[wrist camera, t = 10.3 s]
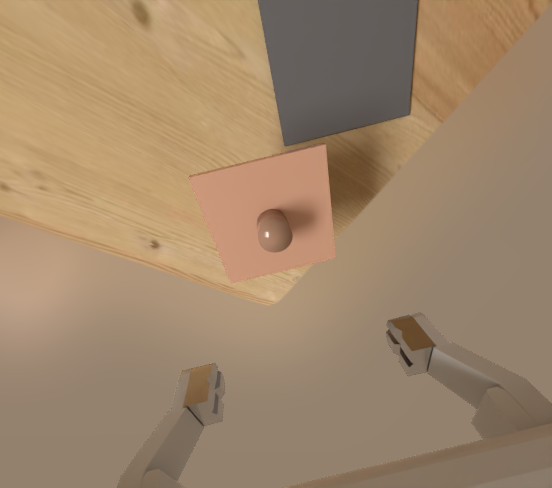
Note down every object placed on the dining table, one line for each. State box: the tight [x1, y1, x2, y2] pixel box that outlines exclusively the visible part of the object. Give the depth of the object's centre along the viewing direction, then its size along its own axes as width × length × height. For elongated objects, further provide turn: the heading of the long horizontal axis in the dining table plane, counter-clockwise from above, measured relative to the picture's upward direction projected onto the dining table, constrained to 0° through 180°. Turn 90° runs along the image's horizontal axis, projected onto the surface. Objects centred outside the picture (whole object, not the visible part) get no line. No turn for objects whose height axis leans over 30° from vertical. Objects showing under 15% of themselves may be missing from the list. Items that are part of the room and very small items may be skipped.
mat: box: [258, 0, 418, 146], centre depth 25 cm, size 16×16×1 cm
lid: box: [188, 143, 336, 283], centre depth 22 cm, size 12×12×4 cm
